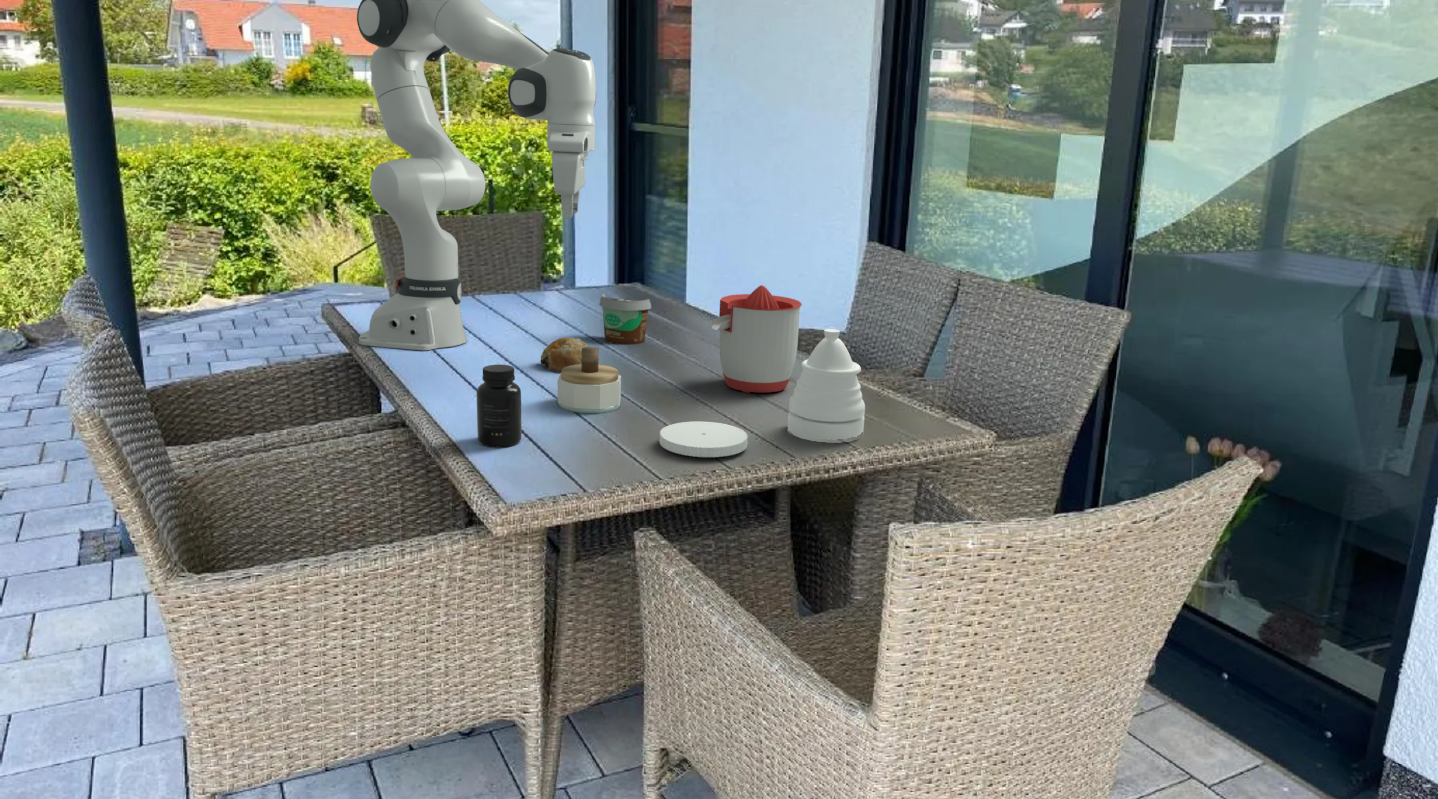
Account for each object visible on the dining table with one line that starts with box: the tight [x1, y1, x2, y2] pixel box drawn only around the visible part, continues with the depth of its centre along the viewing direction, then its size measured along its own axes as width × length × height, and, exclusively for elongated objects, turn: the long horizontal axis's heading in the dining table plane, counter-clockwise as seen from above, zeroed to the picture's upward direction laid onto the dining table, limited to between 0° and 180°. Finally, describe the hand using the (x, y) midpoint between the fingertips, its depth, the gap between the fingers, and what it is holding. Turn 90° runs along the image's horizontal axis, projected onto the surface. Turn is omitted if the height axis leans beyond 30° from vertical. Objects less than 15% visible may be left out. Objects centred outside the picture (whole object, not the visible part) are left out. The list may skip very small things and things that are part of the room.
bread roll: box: [540, 336, 590, 373], centre depth 218 cm, size 10×10×8 cm
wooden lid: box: [560, 346, 619, 385], centre depth 191 cm, size 10×10×5 cm
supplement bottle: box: [476, 364, 522, 448], centre depth 168 cm, size 7×7×12 cm
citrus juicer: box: [710, 285, 803, 394], centre depth 207 cm, size 16×17×20 cm
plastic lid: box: [659, 420, 749, 458], centre depth 172 cm, size 14×14×2 cm
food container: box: [599, 293, 652, 345], centre depth 241 cm, size 12×6×10 cm, turn 68°
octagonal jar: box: [557, 373, 622, 414], centre depth 192 cm, size 11×11×5 cm
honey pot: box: [787, 328, 866, 440], centre depth 181 cm, size 13×13×18 cm
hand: (570, 215), depth 204 cm, fingers open, 8 cm apart
